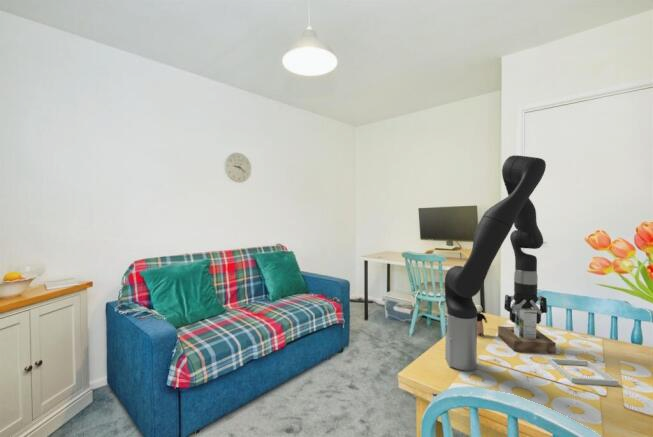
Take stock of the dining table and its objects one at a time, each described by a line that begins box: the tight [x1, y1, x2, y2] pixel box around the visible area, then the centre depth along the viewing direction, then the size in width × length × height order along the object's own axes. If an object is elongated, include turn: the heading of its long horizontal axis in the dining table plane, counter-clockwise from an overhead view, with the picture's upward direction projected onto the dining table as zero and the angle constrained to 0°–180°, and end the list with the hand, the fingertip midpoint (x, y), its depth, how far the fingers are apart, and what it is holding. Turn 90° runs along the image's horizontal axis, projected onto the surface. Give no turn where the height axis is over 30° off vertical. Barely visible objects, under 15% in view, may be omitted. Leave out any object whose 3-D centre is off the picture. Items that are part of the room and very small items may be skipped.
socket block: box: [497, 325, 557, 355], centre depth 117 cm, size 14×14×4 cm
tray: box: [547, 357, 619, 387], centre depth 96 cm, size 12×12×2 cm
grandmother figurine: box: [475, 304, 488, 337], centre depth 126 cm, size 8×4×13 cm, turn 108°
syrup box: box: [513, 307, 538, 339], centre depth 117 cm, size 6×6×14 cm
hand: (525, 322), depth 117 cm, fingers open, 8 cm apart
